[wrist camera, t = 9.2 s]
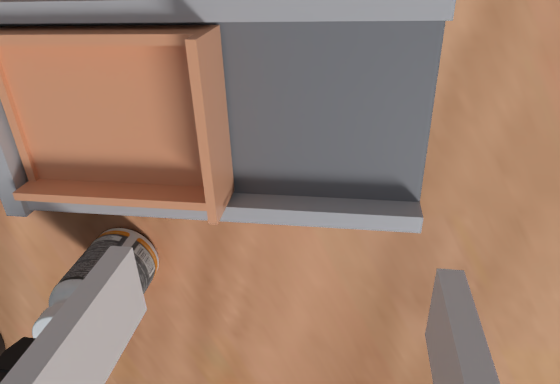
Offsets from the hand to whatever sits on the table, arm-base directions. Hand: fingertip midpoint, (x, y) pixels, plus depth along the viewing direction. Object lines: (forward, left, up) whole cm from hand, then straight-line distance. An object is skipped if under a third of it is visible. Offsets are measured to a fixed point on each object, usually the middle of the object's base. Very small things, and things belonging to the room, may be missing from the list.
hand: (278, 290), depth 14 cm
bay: (-8, 0, -18) cm, 19 cm away
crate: (-13, 0, -16) cm, 21 cm away
